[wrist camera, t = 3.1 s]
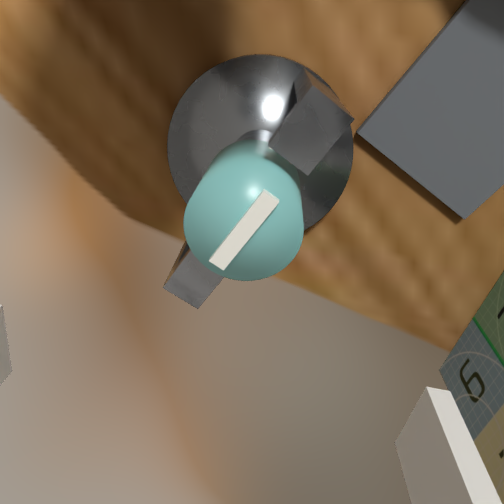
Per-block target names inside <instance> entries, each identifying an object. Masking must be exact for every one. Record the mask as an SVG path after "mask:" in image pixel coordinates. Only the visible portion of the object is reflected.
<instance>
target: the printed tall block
mask: <svg viewBox="0 0 504 504" xmlns="http://www.w3.org/2000/svg"><path fill="white" fill-rule="evenodd" d="M439 371H440V373H441V375H442V377H443V379H444V382H445V384H446V386H447V388H448V391H450V392H451V394H452V396H453V398H454V400H455V403H456V405H457V407H458V409H459V411H460V413H461V416H462V418H463V420H464V422H465V424H466V426H467V429H468V431H469V433H470V435H471V437H472V439H473V442H474V444H475V446H476V448H477V450H478V452H479V455H480V457H481V459H482V461H483V463H484V465H485V468H486V470H487V472H488V474H489V476H490V478H491V481H492V483H493V485H494V487H495V489H496V492H497V494H498V496H499V498H500V500H501V502H502V504H504V271H503V273H502V274H501V276H500V278H499V279H498V281H497V282H496V284H495V285H494V287H493V288H492V290H491V291H490V293H489V294H488V296H487V297H486V299H485V301H484V302H483V304H482V305H481V307H480V308H479V310H478V311H477V313H476V314H475V316H474V317H473V319H472V320H471V322H470V323H469V325H468V327H467V328H466V330H465V331H464V333H463V334H462V336H461V337H460V339H459V340H458V342H457V343H456V345H455V346H454V348H453V349H452V351H451V353H450V354H449V356H448V357H447V359H446V360H445V362H444V363H443V365H442V366H441V368H440V370H439Z"/></svg>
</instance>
